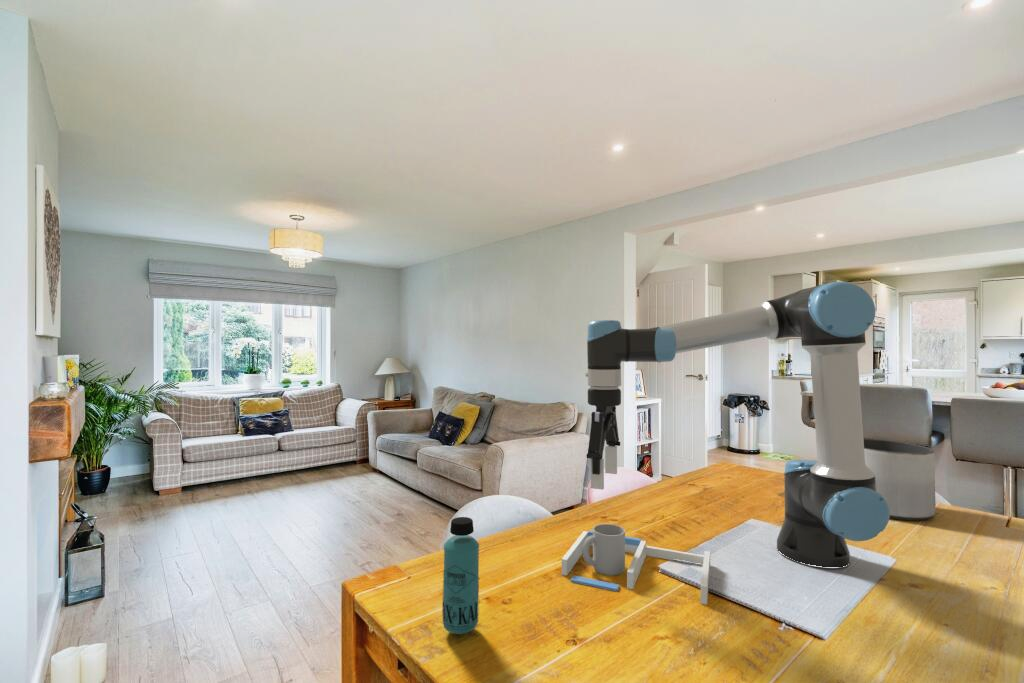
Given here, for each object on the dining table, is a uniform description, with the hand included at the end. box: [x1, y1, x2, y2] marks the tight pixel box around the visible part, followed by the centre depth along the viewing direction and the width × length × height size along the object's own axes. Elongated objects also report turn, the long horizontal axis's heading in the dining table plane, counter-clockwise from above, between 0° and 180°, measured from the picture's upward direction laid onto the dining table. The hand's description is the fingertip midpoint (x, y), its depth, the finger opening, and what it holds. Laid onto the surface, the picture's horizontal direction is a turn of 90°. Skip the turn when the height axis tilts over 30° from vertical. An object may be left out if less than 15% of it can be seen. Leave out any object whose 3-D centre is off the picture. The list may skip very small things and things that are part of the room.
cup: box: [582, 523, 626, 577], centre depth 110 cm, size 7×10×9 cm
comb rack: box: [561, 530, 711, 606], centre depth 109 cm, size 30×21×4 cm
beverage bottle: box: [441, 516, 480, 635], centre depth 86 cm, size 6×7×20 cm
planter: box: [863, 438, 937, 521], centre depth 152 cm, size 23×23×20 cm
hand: (604, 480), depth 111 cm, fingers open, 13 cm apart
